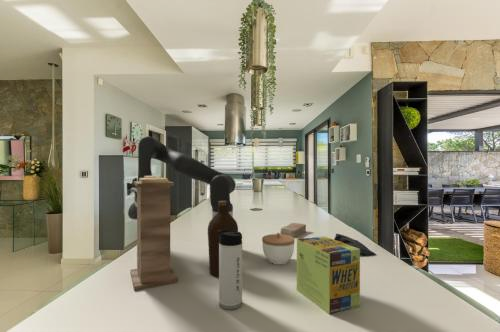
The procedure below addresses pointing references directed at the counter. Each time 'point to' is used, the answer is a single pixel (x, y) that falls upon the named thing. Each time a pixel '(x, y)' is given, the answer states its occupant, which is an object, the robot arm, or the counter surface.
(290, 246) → the lidded bowl
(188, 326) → the counter surface
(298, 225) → the brick
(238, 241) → the travel mug
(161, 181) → the paddle
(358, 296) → the protein box
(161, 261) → the stand
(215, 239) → the olive oil
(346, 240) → the dark slate chunk
